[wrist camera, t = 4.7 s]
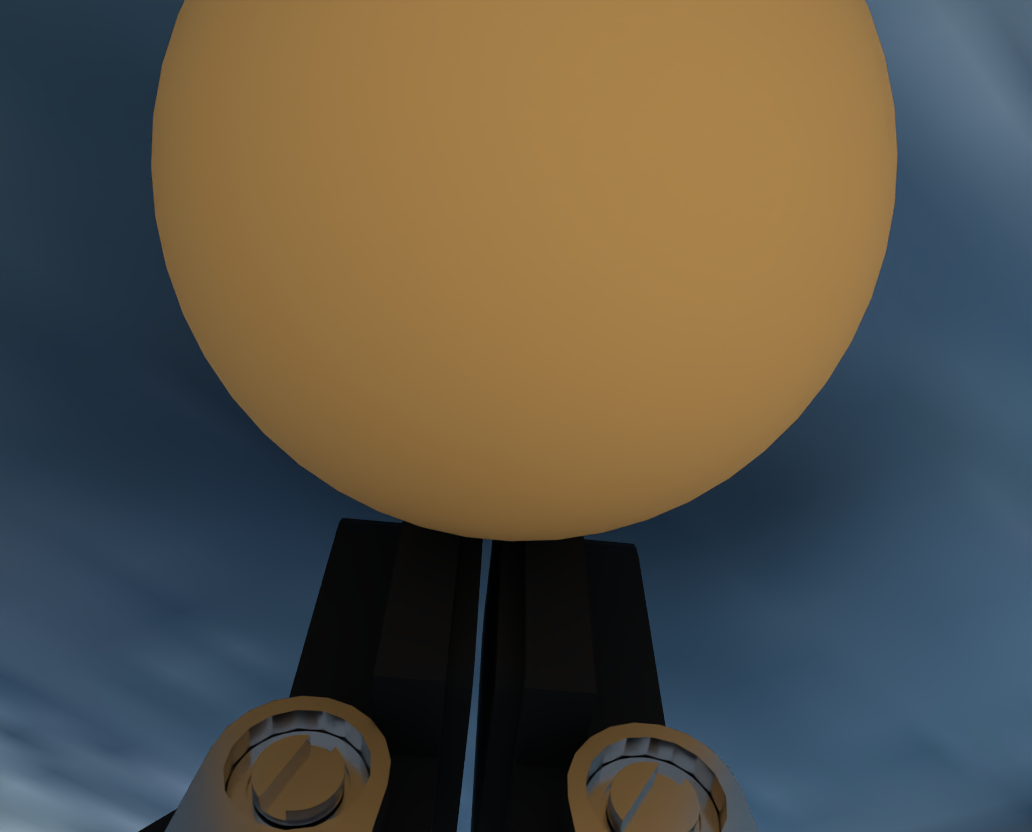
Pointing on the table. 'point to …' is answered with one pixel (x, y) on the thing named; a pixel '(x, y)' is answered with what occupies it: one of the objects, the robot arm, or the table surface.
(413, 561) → the robot arm
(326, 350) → the ball
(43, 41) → the table surface
